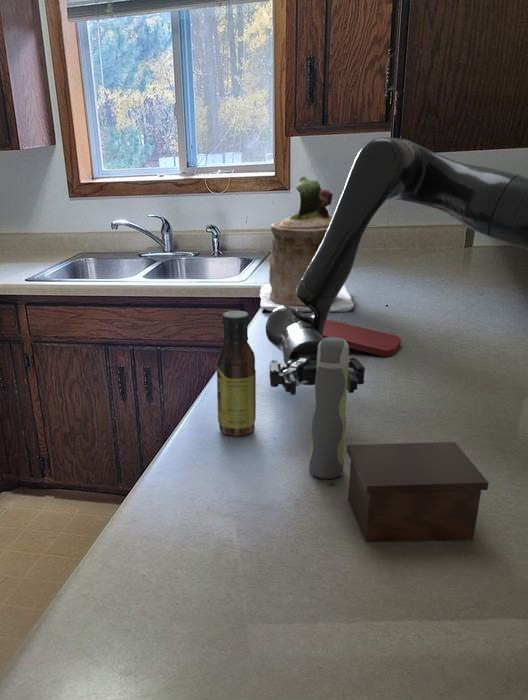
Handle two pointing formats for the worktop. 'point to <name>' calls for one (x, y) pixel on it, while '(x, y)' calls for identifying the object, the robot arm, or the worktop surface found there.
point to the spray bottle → (329, 409)
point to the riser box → (414, 491)
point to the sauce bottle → (236, 377)
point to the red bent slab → (362, 338)
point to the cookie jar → (299, 250)
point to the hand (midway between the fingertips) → (322, 387)
